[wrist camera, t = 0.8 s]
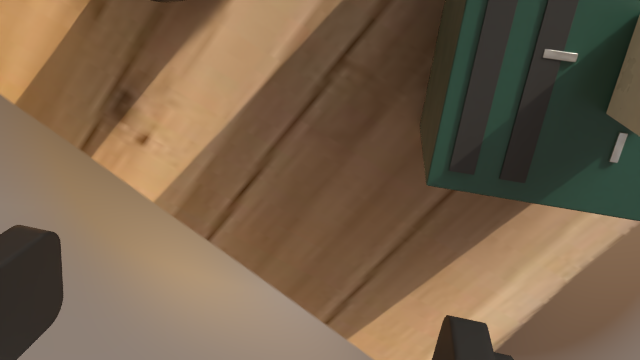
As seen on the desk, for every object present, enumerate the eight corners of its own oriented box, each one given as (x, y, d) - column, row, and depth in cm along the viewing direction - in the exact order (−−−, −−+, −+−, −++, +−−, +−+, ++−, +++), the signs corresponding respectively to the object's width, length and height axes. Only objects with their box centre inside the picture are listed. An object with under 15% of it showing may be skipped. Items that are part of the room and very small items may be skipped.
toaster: (458, -66, 31) (485, -86, 21) (672, -39, 30) (811, -47, 20) (419, 126, 36) (425, 186, 26) (604, 155, 35) (689, 231, 24)
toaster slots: (494, -30, 22) (495, -30, 22) (583, -18, 22) (584, -18, 21) (448, 170, 25) (448, 170, 25) (524, 182, 25) (525, 183, 25)
